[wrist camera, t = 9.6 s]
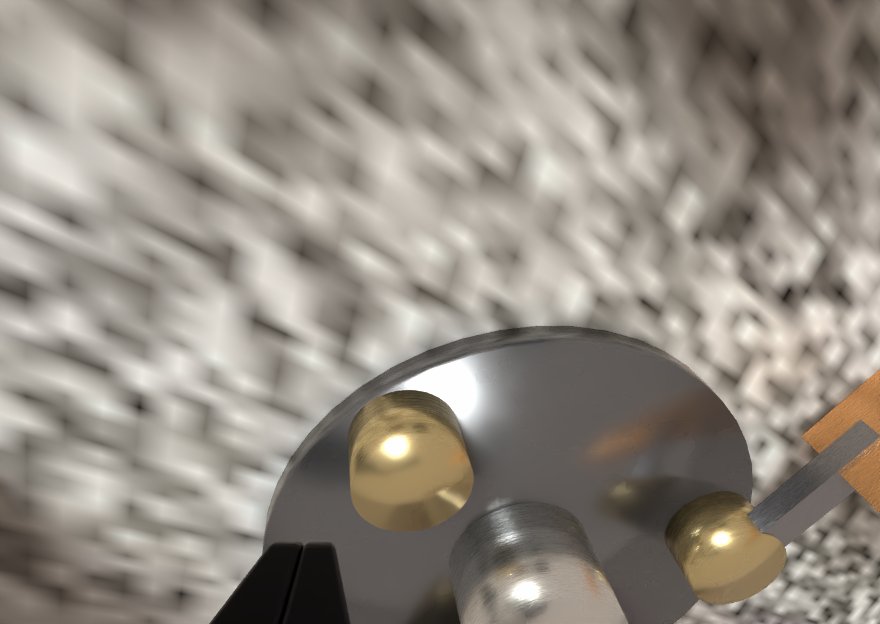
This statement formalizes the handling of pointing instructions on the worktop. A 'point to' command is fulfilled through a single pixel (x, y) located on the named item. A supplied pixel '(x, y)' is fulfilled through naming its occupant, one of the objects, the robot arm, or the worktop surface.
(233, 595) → the robot arm
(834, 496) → the lever
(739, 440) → the tribrach plate
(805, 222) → the worktop surface
